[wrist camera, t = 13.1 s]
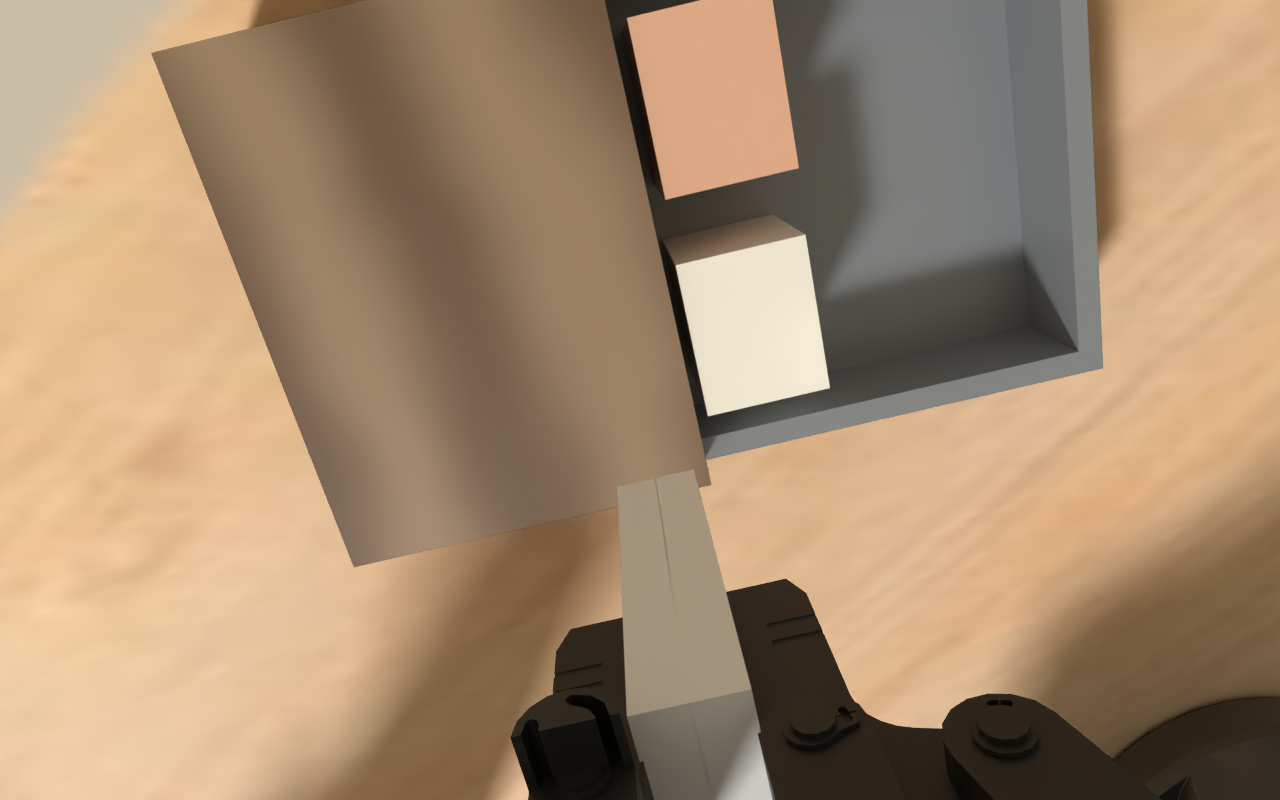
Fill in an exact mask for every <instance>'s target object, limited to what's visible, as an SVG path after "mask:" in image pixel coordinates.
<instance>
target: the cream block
mask: <svg viewBox="0 0 1280 800" xmlns="http://www.w3.org/2000/svg"><path fill="white" fill-rule="evenodd" d="M663 244H664V248H665V253H666V258H667V262H668V267H669V271H670V276H671V281H672V285H673V290H674V294H675V299H676V304H677V308H678V313H679V317H680V322H681V327H682V331H683V336H684V340H685V345H686V350H687V354H688V359H689V363H690V368H691V372H692V374H693V377H694V380H695V383H696V385H697V388H698V391H699V393H700V396H701V399H702V402H703V404H704V407H705V410H706V412H707V415H708V416H712V415H716V414H720V413H725V412H729V411H733V410H738V409H742V408H746V407H751V406H755V405H759V404H764V403H768V402H772V401H777V400H781V399H785V398H789V397H794V396H798V395H802V394H807V393H811V392H815V391H820V390H824V389H828V388H830V385H829V379H828V373H827V366H826V360H825V354H824V347H823V341H822V335H821V329H820V322H819V316H818V310H817V304H816V297H815V291H814V285H813V279H812V272H811V266H810V260H809V254H808V247H807V241H806V235H805V234H804V233H802V232H800V231H799V230H797V229H796V228H794V227H792V226H791V225H789V224H787V223H786V222H784V221H783V220H781V219H779V218H778V217H776V216H774V215H773V214H771V215H767V216H762V217H758V218H754V219H750V220H746V221H741V222H737V223H733V224H729V225H725V226H720V227H716V228H712V229H708V230H703V231H699V232H695V233H691V234H687V235H682V236H678V237H674V238H670V239H666V240H663Z"/></svg>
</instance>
